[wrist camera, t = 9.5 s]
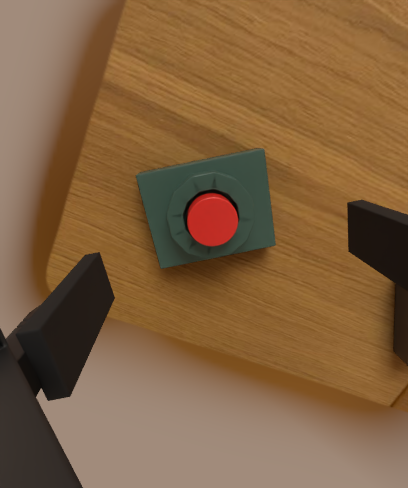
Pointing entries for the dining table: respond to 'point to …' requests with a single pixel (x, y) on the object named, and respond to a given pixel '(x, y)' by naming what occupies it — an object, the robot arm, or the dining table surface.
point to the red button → (212, 219)
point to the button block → (202, 182)
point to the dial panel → (401, 323)
